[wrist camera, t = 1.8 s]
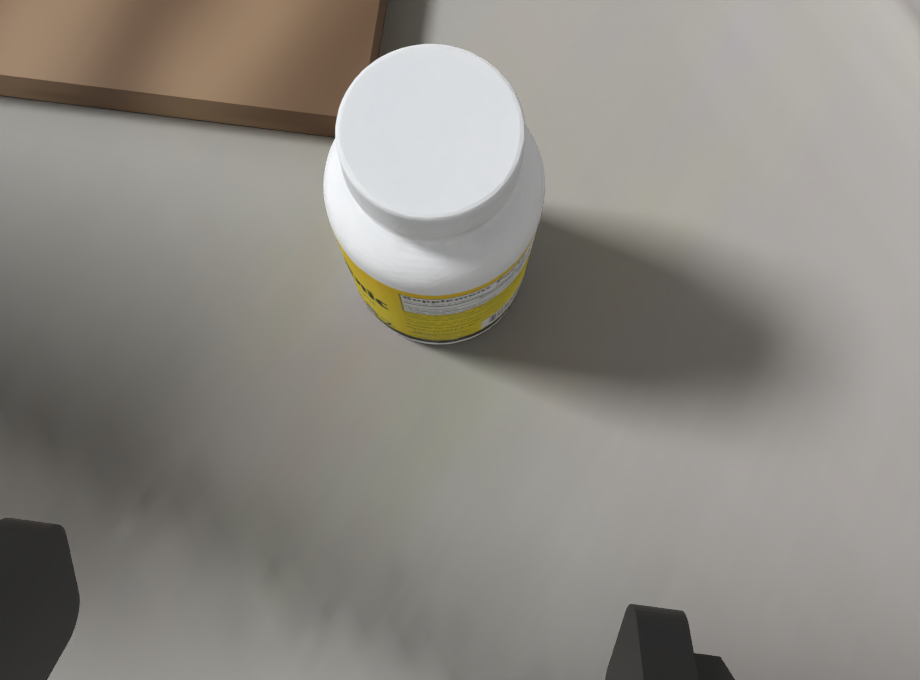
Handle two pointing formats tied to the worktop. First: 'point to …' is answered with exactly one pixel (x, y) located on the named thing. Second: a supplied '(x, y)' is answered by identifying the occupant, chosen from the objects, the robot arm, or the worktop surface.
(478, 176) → the supplement bottle
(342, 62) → the walnut board
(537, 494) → the worktop surface
